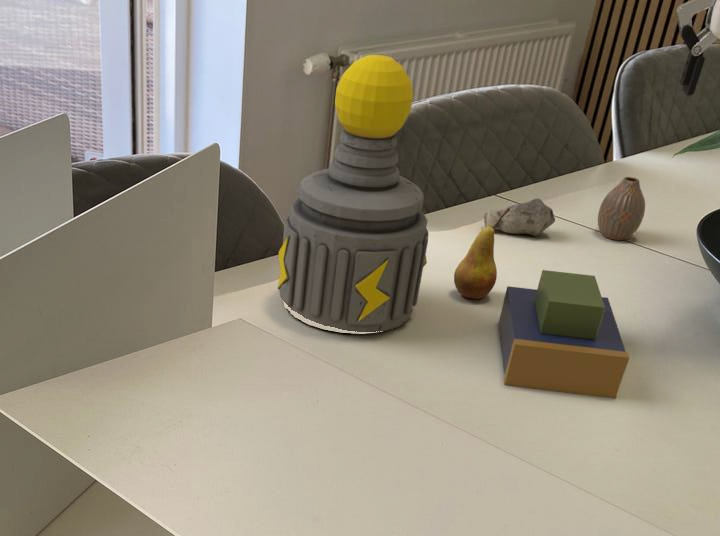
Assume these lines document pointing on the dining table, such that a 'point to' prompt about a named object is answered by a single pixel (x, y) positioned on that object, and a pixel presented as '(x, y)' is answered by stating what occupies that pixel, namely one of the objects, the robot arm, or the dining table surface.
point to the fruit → (478, 266)
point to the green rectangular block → (569, 304)
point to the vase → (622, 210)
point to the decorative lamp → (358, 214)
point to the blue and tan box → (558, 351)
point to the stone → (522, 218)
